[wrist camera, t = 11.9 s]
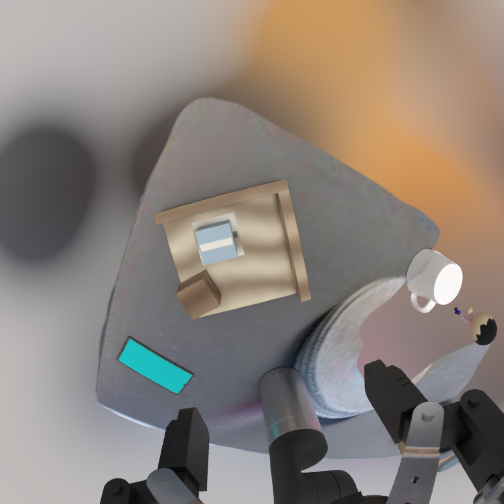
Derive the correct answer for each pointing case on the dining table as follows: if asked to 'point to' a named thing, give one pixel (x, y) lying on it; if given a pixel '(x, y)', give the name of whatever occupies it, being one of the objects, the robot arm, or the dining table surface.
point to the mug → (433, 279)
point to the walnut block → (199, 294)
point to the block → (216, 242)
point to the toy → (479, 326)
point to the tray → (243, 245)
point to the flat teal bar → (154, 366)
